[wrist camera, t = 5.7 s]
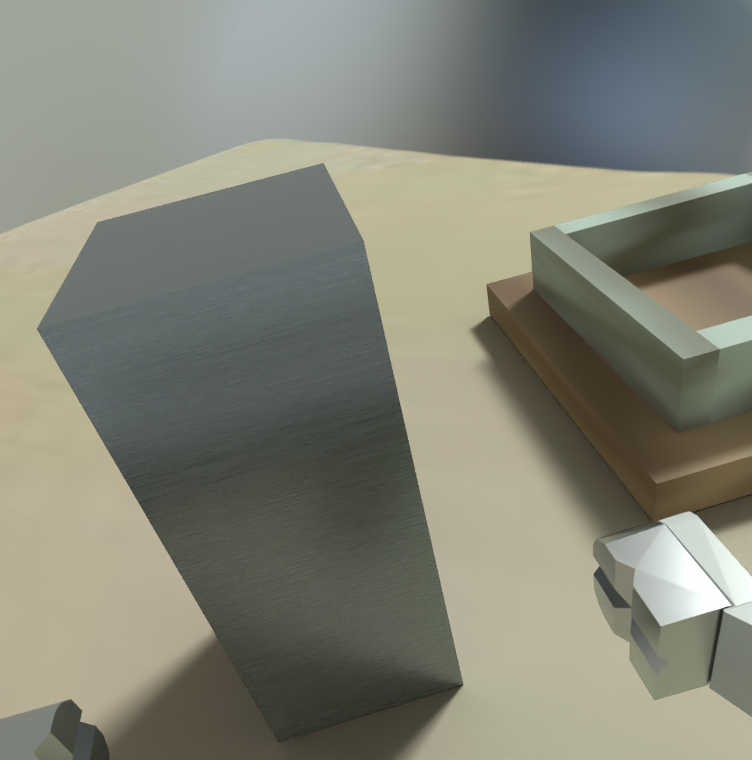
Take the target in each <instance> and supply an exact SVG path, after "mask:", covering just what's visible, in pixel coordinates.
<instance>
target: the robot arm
mask: <svg viewBox="0 0 752 760" xmlns="http://www.w3.org/2000/svg"><path fill="white" fill-rule="evenodd" d="M593 556H594V557H595V559H596V560H597V562H598V564H599V565H600V566H599V568H598V569H597V570H596V572H595V573H594V589H595V592H596V596H597V599H598V603H599V606H600V608H601V610H602V612H603V615H604V617H605V619H606V621H607V622H608V624H609V626H610V628H611V629H612V631H613V633H614V634H616V635H618V636H619V637H621V638H623V639H625V640H626V641H628V642H630V658H629V660H630V661H631V663H632V665H633V666H634V668H635V670H636V671H637V673H638V674H639V676H640V678H641V679H642V681H643V683H644V684H645V686H646V688H647V689H648V691H649V693H650V694H651V696H652V698H653V699H654V700H657V699H661V698H664V697H668V696H671V695H675V694H678V693H682V692H685V691H689V690H692V689H696V688H699V687H702V686H706V685H709V684H710V689H712V690H713V691H715V692H716V693H718V694H719V695H721V696H722V697H724V698H725V699H726V700H728V701H729V702H731V703H732V704H734V705H735V706H737V707H738V708H740V709H741V710H742V711H744V712H745V713H747V714H748V715H750V716H751V717H752V576H751V575H750V573H749V572H748V571H747V570H746V569H745V568H744V567H743V566H742V565H741V563H740V562H739V561H738V560H737V559H736V558H735V557H734V556H733V555H732V554H731V552H730V551H729V550H728V549H727V548H726V547H725V546H724V545H723V544H722V542H721V541H720V540H719V539H718V538H717V537H716V536H715V535H714V534H713V532H712V531H711V530H710V529H709V528H708V527H707V526H706V525H705V524H704V522H703V521H702V520H701V519H700V518H699V517H698V516H697V515H695V514H693V513H692V512H690V511H689V512H684V513H680V514H677V515H674V516H671V517H668V518H665V519H662V520H659V521H652V522H649V523H646V524H642V525H639V526H636V527H633V528H630V529H627V530H624V531H621V532H617V533H614V534H611V535H608V536H605V537H602V538H599V539H596V541H595V543H594V545H593ZM81 713H82V710H81V709H80V708H79V707H78V706H77V705H76V704H75V703H74V702H73V701H72V700H71V699H70V700H66V701H63V702H59V703H56V704H52V705H49V706H45V707H42V708H38V709H34V710H31V711H27V712H24V713H20V714H17V715H13V716H10V717H6V718H3V719H0V760H109V750H108V746H107V744H106V741H105V739H104V736H103V734H102V733H101V732H100V731H99V729H98V728H97V727H96V726H93V725H90V724H86V723H83V722H80V718H81Z"/></svg>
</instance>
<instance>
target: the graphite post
mask: <svg viewBox="0 0 752 760" xmlns="http://www.w3.org/2000/svg"><path fill="white" fill-rule="evenodd" d="M37 330H38V332H39V333H40V335H41V337H42V338H43V340H44V342H45V343H46V345H47V347H48V349H49V350H50V352H51V354H52V355H53V357H54V359H55V361H56V362H57V364H58V366H59V367H60V369H61V371H62V373H63V374H64V376H65V378H66V379H67V381H68V383H69V385H70V386H71V388H72V390H73V391H74V393H75V395H76V396H77V398H78V400H79V402H80V403H81V405H82V407H83V408H84V410H85V412H86V414H87V415H88V417H89V419H90V420H91V422H92V424H93V426H94V427H95V429H96V431H97V432H98V434H99V436H100V438H101V439H102V441H103V443H104V444H105V446H106V448H107V449H108V451H109V453H110V455H111V456H112V458H113V460H114V461H115V463H116V465H117V467H118V468H119V470H120V472H121V473H122V475H123V477H124V479H125V480H126V482H127V484H128V485H129V487H130V489H131V491H132V492H133V494H134V496H135V497H136V499H137V501H138V502H139V504H140V506H141V508H142V509H143V511H144V513H145V514H146V516H147V518H148V520H149V521H150V523H151V525H152V526H153V528H154V530H155V532H156V533H157V535H158V537H159V538H160V540H161V542H162V544H163V545H164V547H165V549H166V550H167V552H168V554H169V555H170V557H171V559H172V561H173V562H174V564H175V566H176V567H177V569H178V571H179V573H180V574H181V576H182V578H183V579H184V581H185V583H186V585H187V586H188V588H189V590H190V591H191V593H192V595H193V597H194V598H195V600H196V602H197V603H198V605H199V607H200V608H201V610H202V612H203V614H204V615H205V617H206V619H207V620H208V622H209V624H210V626H211V627H212V629H213V631H214V632H215V634H216V636H217V638H218V639H219V641H220V643H221V644H222V646H223V648H224V650H225V651H226V653H227V655H228V656H229V658H230V660H231V661H232V663H233V665H234V667H235V668H236V670H237V672H238V673H239V675H240V677H241V679H242V680H243V682H244V684H245V685H246V687H247V689H248V691H249V692H250V694H251V696H252V697H253V699H254V701H255V703H256V704H257V706H258V708H259V709H260V711H261V713H262V714H263V716H264V718H265V720H266V721H267V723H268V725H269V726H270V728H271V730H272V732H273V733H274V735H275V737H276V738H277V740H278V742H280V741H283V740H286V739H289V738H293V737H296V736H299V735H302V734H306V733H309V732H312V731H315V730H318V729H322V728H325V727H328V726H331V725H335V724H338V723H341V722H344V721H347V720H351V719H354V718H357V717H360V716H364V715H367V714H370V713H373V712H377V711H380V710H383V709H386V708H389V707H393V706H396V705H399V704H402V703H406V702H409V701H412V700H415V699H418V698H422V697H425V696H428V695H431V694H435V693H438V692H441V691H444V690H447V689H451V688H454V687H457V686H460V685H463V681H462V677H461V672H460V668H459V663H458V659H457V655H456V650H455V646H454V641H453V637H452V632H451V628H450V623H449V619H448V615H447V610H446V606H445V601H444V597H443V592H442V588H441V583H440V579H439V575H438V570H437V566H436V561H435V557H434V552H433V548H432V543H431V539H430V534H429V530H428V526H427V521H426V517H425V512H424V508H423V503H422V499H421V494H420V490H419V486H418V481H417V477H416V472H415V468H414V463H413V459H412V454H411V450H410V446H409V441H408V437H407V432H406V428H405V423H404V419H403V414H402V410H401V406H400V401H399V397H398V392H397V388H396V383H395V379H394V374H393V370H392V365H391V361H390V357H389V352H388V348H387V343H386V339H385V334H384V330H383V325H382V321H381V317H380V312H379V308H378V303H377V299H376V294H375V290H374V285H373V281H372V277H371V272H370V268H369V263H368V259H367V254H366V250H365V245H364V241H363V239H362V237H361V235H360V233H359V231H358V229H357V227H356V225H355V223H354V221H353V220H352V218H351V216H350V214H349V212H348V210H347V208H346V206H345V204H344V202H343V200H342V198H341V196H340V194H339V193H338V191H337V189H336V187H335V185H334V183H333V181H332V179H331V177H330V175H329V173H328V171H327V169H326V167H325V165H324V164H323V163H322V164H318V165H314V166H310V167H306V168H303V169H299V170H295V171H291V172H287V173H284V174H280V175H276V176H272V177H268V178H265V179H261V180H257V181H253V182H249V183H245V184H242V185H238V186H234V187H230V188H226V189H223V190H219V191H215V192H211V193H207V194H204V195H200V196H196V197H192V198H188V199H185V200H181V201H177V202H173V203H169V204H165V205H162V206H158V207H154V208H150V209H146V210H143V211H139V212H135V213H131V214H127V215H124V216H120V217H116V218H112V219H108V220H104V221H101V222H97V224H96V226H95V227H94V229H93V231H92V233H91V235H90V236H89V238H88V240H87V242H86V243H85V245H84V247H83V249H82V250H81V252H80V254H79V256H78V257H77V259H76V261H75V263H74V264H73V266H72V268H71V270H70V271H69V273H68V275H67V277H66V279H65V280H64V282H63V284H62V286H61V287H60V289H59V291H58V293H57V294H56V296H55V298H54V300H53V301H52V303H51V305H50V307H49V308H48V310H47V312H46V314H45V315H44V317H43V319H42V321H41V323H40V324H39V326H38V328H37Z"/></svg>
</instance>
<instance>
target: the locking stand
mask: <svg viewBox="0 0 752 760" xmlns="http://www.w3.org/2000/svg"><path fill="white" fill-rule="evenodd" d="M530 243H531V258H532V272H529V273H526V274H522V275H519V276H515V277H511V278H508V279H504V280H500V281H497V282H493V283H489V284H487V293H488V302H489V311H490V315H491V316H492V318H493V319H494V320H495V322H496V323H497V324H498V325H499V327H500V328H501V329H502V330H503V332H504V333H505V334H506V336H507V337H508V338H509V339H510V341H511V342H512V343H513V345H514V346H515V347H516V348H517V350H518V351H519V352H520V353H521V355H522V356H523V357H524V359H525V360H526V361H527V362H528V364H529V365H530V366H531V367H532V369H533V370H534V371H535V373H536V374H537V375H538V376H539V378H540V379H541V380H542V381H543V383H544V384H545V385H546V387H547V388H548V389H549V390H550V392H551V393H552V394H553V395H554V397H555V398H556V399H557V401H558V402H559V403H560V404H561V406H562V407H563V408H564V409H565V411H566V412H567V413H568V415H569V416H570V417H571V418H572V420H573V421H574V422H575V423H576V425H577V426H578V427H579V429H580V430H581V431H582V432H583V434H584V435H585V436H586V438H587V439H588V440H589V441H590V443H591V444H592V445H593V446H594V448H595V449H596V450H597V452H598V453H599V454H600V455H601V457H602V458H603V459H604V460H605V462H606V463H607V464H608V466H609V467H610V468H611V469H612V471H613V472H614V473H615V474H616V476H617V477H618V478H619V480H620V481H621V482H622V483H623V485H624V486H625V487H626V488H627V490H628V491H629V492H630V494H631V495H632V496H633V497H634V499H635V500H636V501H637V502H638V504H639V505H640V506H641V508H642V509H643V510H644V511H645V513H646V514H647V515H648V516H649V518H650V519H651V520H652V521H659V520H662V519H665V518H668V517H671V516H674V515H677V514H680V513H684V512H689V511H690V512H693V511H697V510H700V509H703V508H707V507H710V506H713V505H717V504H720V503H723V502H727V501H730V500H733V499H737V498H740V497H743V496H747V495H750V494H752V172H750V173H746V174H742V175H739V176H735V177H731V178H727V179H724V180H720V181H716V182H713V183H709V184H705V185H702V186H698V187H694V188H691V189H687V190H683V191H680V192H676V193H672V194H669V195H665V196H661V197H658V198H654V199H650V200H647V201H643V202H639V203H636V204H632V205H628V206H624V207H621V208H617V209H613V210H610V211H606V212H602V213H599V214H595V215H591V216H588V217H584V218H580V219H577V220H573V221H569V222H566V223H562V224H558V225H555V226H551V227H547V228H544V229H540V230H536V231H533V232H530Z"/></svg>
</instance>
